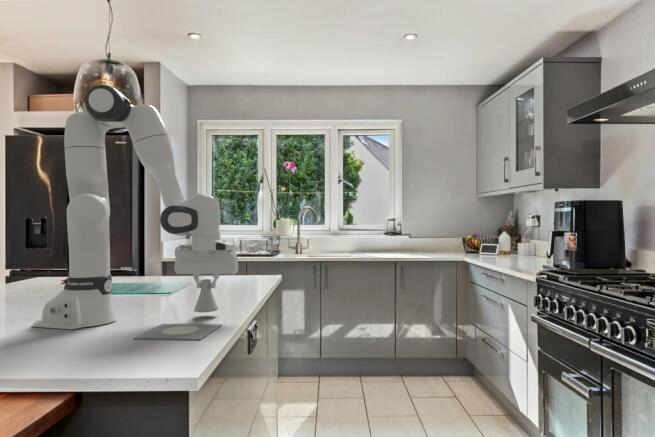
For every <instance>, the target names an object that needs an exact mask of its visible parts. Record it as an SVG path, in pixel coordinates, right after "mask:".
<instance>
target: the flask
mask: <svg viewBox="0 0 655 437" xmlns="http://www.w3.org/2000/svg"><path fill="white" fill-rule="evenodd" d="M200 281H201V288H200V291H199V292H200V293H199V295H198V298H197V300H196V304H195V306H194V309H193V312H195V313H213V312H217V311H218V310H219V308H218V305H217V302H216V300H215V297H214V295H213V292H212V288H210V285H209V284H210V283H211V282H212V279H210V278H204V279H203V278H202V279H200Z"/></svg>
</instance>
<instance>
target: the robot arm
mask: <svg viewBox="0 0 655 437" xmlns="http://www.w3.org/2000/svg"><path fill="white" fill-rule="evenodd" d="M84 106H85V108H86V111H79V112H74V113H72V114H70V115H69V116H68V117H67V118H66V120H65V125H64V137H63V138H64V140H63V143H64V145H63V146H64V147H63V148H64V160H65V174H66V175H65V176H66V181H67V189H68V197H69V203H68V205H67V207H66V225H67V226H66V227H67V228H66V229H67V241H68V262H69V263H68V267H69V268H68V277H67V278H65V279H62V280H60V282H61V283H60V285H64V287H63V290H61V291H60V292H59V293H58V294H56V295H54V297H53V298H51V299H50V300H49V301H47V302H46V303H45V304H44V306H43V310H42V315H41V319H39V320H38V319H37V320H35V321H34V322H32V327H33V328H44V329H45V328H48V329H57V330H58V329H60V330H75V329H76V330H77V329H82V328H86V327H96V326H97V327H98V326H102V325H106V324H110V323H113V322H115V321H117V317H116V313H115V309H114V306H113V299H112V289H113V282H112V281H113V280H112V279H113V278H112V277H113V276H112V274H111V244H110V216H111V206H110V196H109V195H110V194H109V192H110V191H109V181H108V180H109V179H108V168H107V153H106V152H107V151H106V134H107V133H108V134H111V133H115V132H117V131H120V130H125V129H126V130H127V132H128V134H129V136H130V139H131V142H132V146H133V148H134V151H135V153H136V156H137V157H138V159H139V161H140V163H141V165H142V166H143V167H144V168H145V170H146V171H147V172H149V175H151V176H152V177H153V179H154V180H155V182H156V184H157V186H158V189H159V192H160V195H161V198H162V200H163V203H164V206H165V208H164V209H162V210H163V211H162V212H161V213H160V218H159V221H160V226H161V228H162V229H163V230H164V231H165V232H166V233H168V234H170V235H174V236H179V237H182V236H185V235H188V234H190V233H191V244H180V245H179V246H177V247H176V248H175V249H174V257H175V259H174V268H173V270H174V272H175V274H176V275H192V276H193V277H192V278H193V279H194V281H195V283H196V288H197V289H201V281H200V280H201V279H200V277H201V275H212V278H213V280H212V281H211V282H210V284H209V285H210V288H211V289H216V287H217V282H218V280H219V279H220V275H235V274H237V272H239V260H238V253H237V252H236V251H234V250H235V249H236V244H235V243H233V242H231V241H227V240H226V239H225V240H224V239H221V231H220V224H221V208H220V202H219V200H218V199H217V198H216V197H214V196H213V195H210V194H203V193H196V194H193V196H191V197H189V198H188V199H186V200H185V199H184V197H183V193H182V191H181V190H182V189H181V187H180V184H179V181H178V178H177V174H176V168H175V166H176V165H175V157H174V156H175V155H174V149H173V145H172V141H171V138H170V135H169V132H168V129H167V126H166V124H165V123H164V120H163V118H162V116H161V114H160V112H159V110H158V109H157V108H156V107H154V106H152V105H150V104H138V105H133V104H132V102H131V101H130V100H129V98H128V97H127V96H126V95H124V93H122V92H121V91H119V90H118V89H117V88H115V87H113V86H111V85H108V84H97V85H93V86H92V87H90V88H89V89H88V90H87V92H86V94H85V96H84Z"/></svg>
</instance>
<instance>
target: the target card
mask: <svg viewBox="0 0 655 437" xmlns="http://www.w3.org/2000/svg"><path fill="white" fill-rule="evenodd" d="M221 327H223V323H221V324H219V323H214V324H213V323H212V324H211V323H161V324H158V325H157V326H155V327H152V328H150V329H149V330H147V331H145V332H142V333H141V334H138V335H136V336H134V337H133V340H153V341H154V340H161V341H162V340H163V341H164V340H167V341H171V340H172V341H202V340H203V339H205V338H206V337H208V336H209V335H211V334H212V333H214V332H215V331H216V330H218V329H219V328H221ZM213 331H214V332H213ZM210 333H211V334H210ZM207 335H208V336H207Z"/></svg>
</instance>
